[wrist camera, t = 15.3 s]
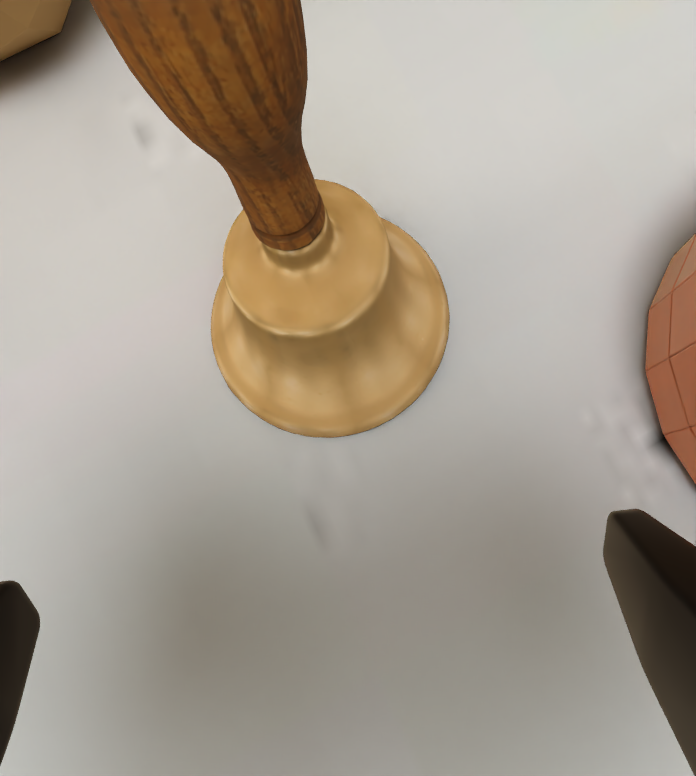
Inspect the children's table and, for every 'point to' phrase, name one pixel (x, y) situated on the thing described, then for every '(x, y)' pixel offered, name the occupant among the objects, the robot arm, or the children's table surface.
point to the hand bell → (287, 224)
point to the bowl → (675, 354)
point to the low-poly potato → (29, 23)
